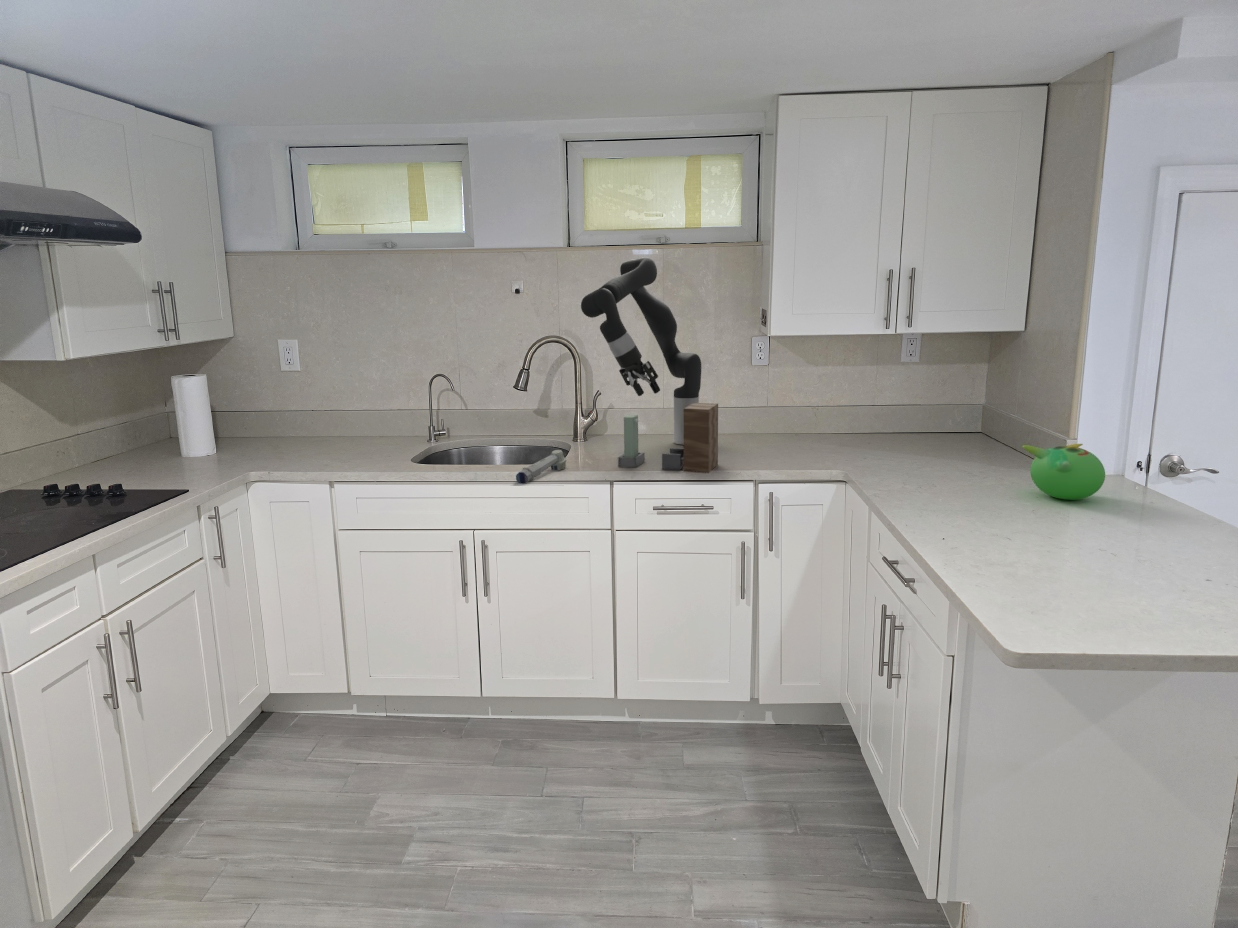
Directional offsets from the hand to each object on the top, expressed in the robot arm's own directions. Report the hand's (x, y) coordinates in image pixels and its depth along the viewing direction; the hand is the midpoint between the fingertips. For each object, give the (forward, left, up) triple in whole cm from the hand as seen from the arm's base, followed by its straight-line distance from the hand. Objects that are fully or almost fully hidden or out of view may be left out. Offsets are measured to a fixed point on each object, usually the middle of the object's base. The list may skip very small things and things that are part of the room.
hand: (649, 393), depth 253 cm
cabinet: (-4, +16, -24) cm, 29 cm away
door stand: (-4, -8, -24) cm, 26 cm away
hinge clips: (-4, +7, -24) cm, 26 cm away
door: (-4, -8, -24) cm, 26 cm away
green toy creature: (+7, +117, -24) cm, 120 cm away
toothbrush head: (+18, -30, -25) cm, 43 cm away
